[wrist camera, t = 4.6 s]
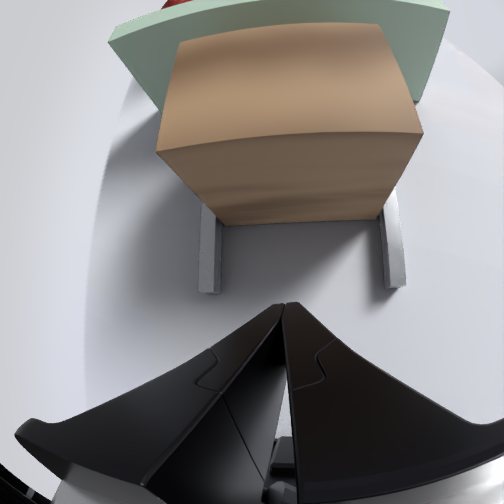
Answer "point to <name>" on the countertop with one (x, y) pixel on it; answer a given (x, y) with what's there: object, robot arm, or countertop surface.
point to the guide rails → (389, 237)
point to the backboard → (277, 13)
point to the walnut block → (289, 122)
